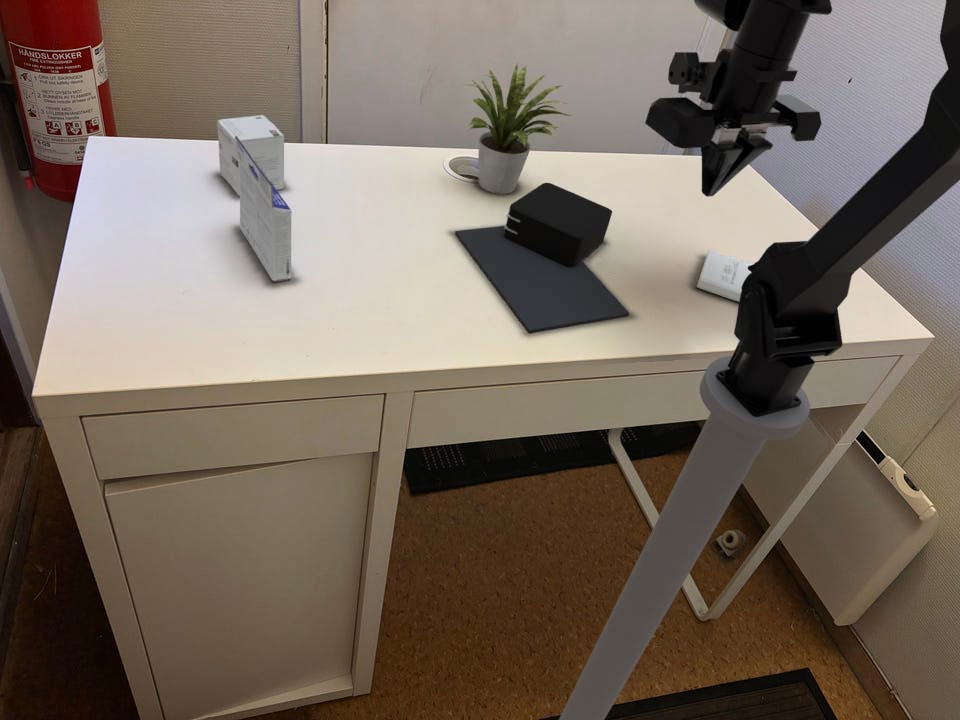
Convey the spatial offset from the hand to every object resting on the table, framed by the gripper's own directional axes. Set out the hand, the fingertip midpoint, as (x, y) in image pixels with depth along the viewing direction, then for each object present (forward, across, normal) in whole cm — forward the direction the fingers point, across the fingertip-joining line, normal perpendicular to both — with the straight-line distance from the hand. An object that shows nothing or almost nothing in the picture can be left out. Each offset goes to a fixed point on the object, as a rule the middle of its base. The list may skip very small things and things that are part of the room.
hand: (707, 194), depth 82 cm
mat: (+13, +14, -7) cm, 21 cm away
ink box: (+13, +44, -17) cm, 49 cm away
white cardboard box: (+13, +42, -33) cm, 55 cm away
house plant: (+13, +11, -27) cm, 32 cm away
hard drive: (+13, -11, +2) cm, 17 cm away
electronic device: (+10, +6, -9) cm, 15 cm away
